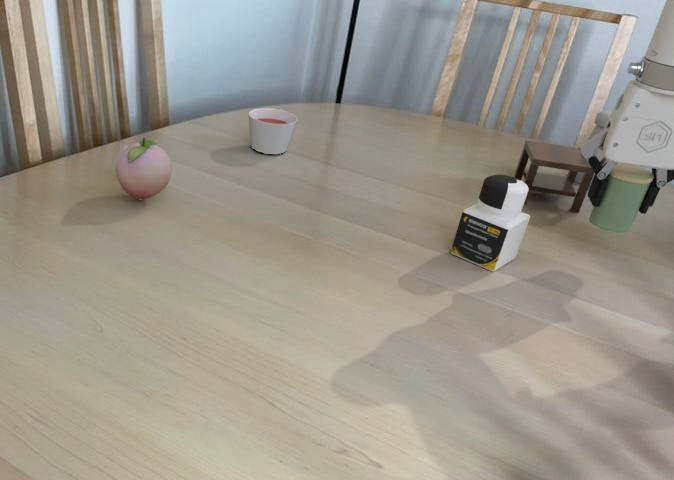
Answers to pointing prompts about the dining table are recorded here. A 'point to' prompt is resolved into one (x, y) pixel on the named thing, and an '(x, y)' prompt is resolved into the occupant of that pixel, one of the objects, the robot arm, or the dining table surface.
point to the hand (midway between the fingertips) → (617, 205)
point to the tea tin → (621, 198)
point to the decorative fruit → (143, 169)
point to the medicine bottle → (493, 224)
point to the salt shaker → (600, 125)
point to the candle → (271, 129)
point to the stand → (561, 160)
